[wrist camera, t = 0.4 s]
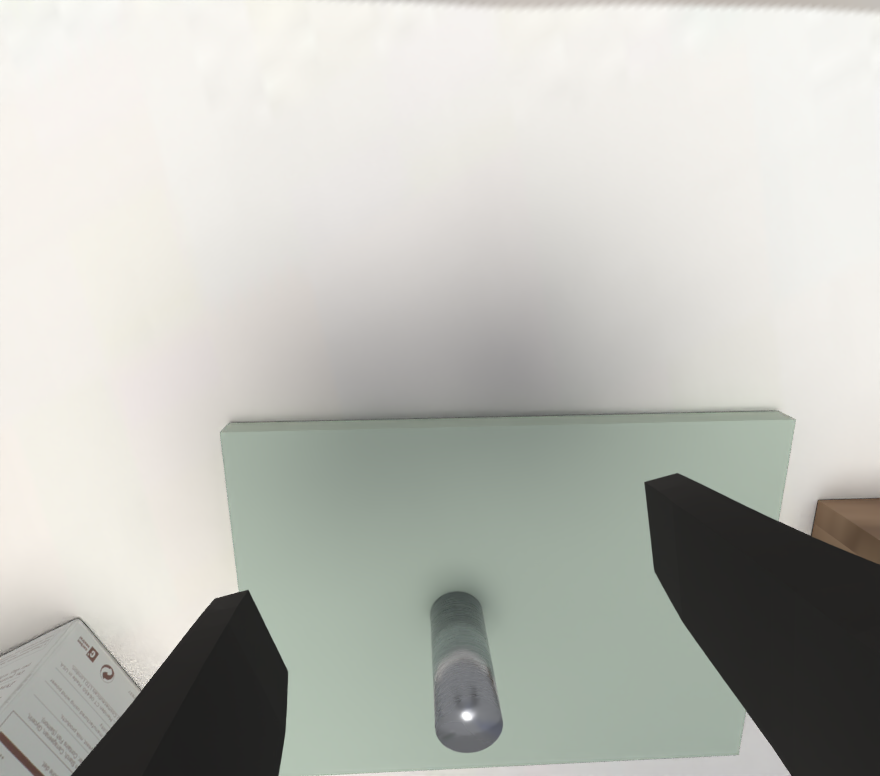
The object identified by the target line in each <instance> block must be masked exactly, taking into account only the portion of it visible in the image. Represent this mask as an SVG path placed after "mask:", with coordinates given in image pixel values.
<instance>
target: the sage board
mask: <svg viewBox="0 0 880 776" xmlns="http://www.w3.org/2000/svg"><path fill="white" fill-rule="evenodd" d="M795 422H796V419H794V418H792V417H790V416H788V415H786V414H784V413H781V412H779V411H748V412H703V413H657V414H611V415H566V416H520V417H474V418H429V419H383V420H337V421H292V422H246V423H229V424H228V425H227V426H226V427H225V428H224V429H223V430H222V431H221V432H220V438H221V446H222V455H223V463H224V471H225V480H226V488H227V497H228V505H229V513H230V522H231V530H232V538H233V547H234V555H235V564H236V572H237V580H238V589H239V592H241V591H245V590H249V592H250V594H251V596H252V598H253V600H254V602H255V604H256V606H257V608H258V610H259V612H260V614H261V616H262V618H263V621H264V623H265V625H266V627H267V629H268V631H269V633H270V635H271V637H272V639H273V641H274V643H275V645H276V647H277V649H278V651H279V653H280V655H281V658H282V660H283V662H284V664H285V666H286V668H287V670H288V696H287V717H286V733H285V739H284V746H283V752H282V758H281V765H280V771H279V776H319V775H340V774H360V773H381V772H401V771H422V770H442V769H463V768H483V767H504V766H524V765H545V764H565V763H586V762H606V761H626V760H647V759H667V758H688V757H708V756H729V755H739V749H740V744H741V738H742V732H743V726H744V720H745V714H746V710H745V709H744V707H743V706H742V704H741V703H740V702H739V700H738V699H737V697H736V696H735V695H734V693H733V692H732V691H731V689H730V688H729V686H728V685H727V684H726V682H725V681H724V680H723V678H722V677H721V675H720V674H719V673H718V671H717V670H716V669H715V667H714V666H713V664H712V663H711V662H710V660H709V659H708V657H707V656H706V655H705V653H704V652H703V650H702V649H701V648H700V646H699V645H698V643H697V642H696V641H695V639H694V638H693V636H692V635H691V634H690V632H689V631H688V629H687V628H686V626H685V625H684V624H683V622H682V620H681V619H680V617H679V615H678V613H677V612H676V610H675V608H674V606H673V605H672V603H671V601H670V599H669V597H668V596H667V594H666V592H665V590H664V588H663V586H662V585H661V583H660V581H659V579H658V577H657V575H656V574H655V572H654V565H653V556H652V547H651V538H650V529H649V520H648V511H647V502H646V493H645V484H644V482H646V481H649V480H653V479H657V478H660V477H664V476H668V475H671V474H675V473H679V474H681V475H683V476H686V477H688V478H690V479H692V480H694V481H696V482H698V483H700V484H702V485H704V486H706V487H708V488H711V489H713V490H715V491H717V492H719V493H721V494H723V495H725V496H727V497H729V498H731V499H733V500H735V501H737V502H739V503H741V504H743V505H745V506H747V507H749V508H751V509H753V510H756V511H758V512H760V513H762V514H764V515H766V516H768V517H770V518H772V519H775V520H777V521H779V516H780V510H781V504H782V498H783V492H784V486H785V480H786V475H787V469H788V463H789V457H790V451H791V445H792V439H793V434H794V428H795ZM454 591H461V592H466V593H469V594H471V595H473V596H474V597H475V598H476V599H477V600H478V601H479V602H480V604H481V606H482V610H483V616H484V621H485V627H486V632H487V638H488V643H489V648H490V654H491V659H492V665H493V670H494V676H495V681H496V686H497V692H498V697H499V703H500V708H501V713H502V719H503V729H502V732H501V734H500V736H499V738H498V739H497V740H496V741H495V742H494V743H493V744H492V745H491V746H489V747H488V748H486V749H484V750H481V751H478V752H474V753H460V752H456V751H453V750H451V749H449V748H447V747H445V746H444V745H443V744H442V743H441V742H440V741H439V739H438V737H437V735H436V732H435V716H434V693H433V671H432V648H431V626H430V611H431V607H432V605H433V603H434V602H435V601H436V600H437V599H438V598H439V597H440V596H442V595H444V594H446V593H449V592H454Z"/></svg>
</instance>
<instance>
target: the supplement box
mask: <svg viewBox="0 0 880 776" xmlns="http://www.w3.org/2000/svg"><path fill="white" fill-rule="evenodd" d="M140 692H141V690H140V689H139V688H138V687H137V685H136V684H135V683H134V682H133V681H132V679H131V678H130V677H129V676H128V675H127V673H126V672H125V671H124V670H123V669H122V668H121V666H120V665H119V664H118V662H117V661H116V660H115V659H114V658H113V657H112V655H111V654H110V653H109V652H108V651H107V650H106V648H105V647H104V646H103V645H102V644H101V643H100V641H99V640H98V639H97V638H96V637H95V636H94V634H93V633H92V632H91V631H90V630H89V629H88V627H87V626H86V625H85V624H84V623H83V622H82V621H81V620H79V619H75V620H73V621H71V622H69V623H67V624H65V625H63V626H61V627H59V628H57V629H55V630H53V631H50V632H48V633H46V634H44V635H42V636H40V637H38V638H36V639H34V640H33V641H31V642H29V643H27V644H25V645H23V646H21V647H19V648H17V649H15V650H13V651H11V652H9V653H7V654H5V655H3V656H1V657H0V776H71V775H72V773H73V772H74V771H75V770H76V769H77V768H78V766H79V765H80V764H81V763H82V762H83V760H84V759H85V758H86V757H87V756H88V755H89V753H90V752H91V751H92V750H93V749H94V747H95V746H96V745H97V744H98V743H99V742H100V740H101V739H102V738H103V737H104V736H105V734H106V733H107V732H108V731H109V730H110V729H111V727H112V726H113V725H114V724H115V723H116V721H117V720H118V719H119V718H120V717H121V716H122V714H123V713H124V712H125V711H126V709H127V708H128V707H129V706H130V705H131V703H132V702H133V701H134V699H135V698H136V697H137V696H138V694H139V693H140Z"/></svg>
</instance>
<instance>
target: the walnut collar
mask: <svg viewBox="0 0 880 776" xmlns="http://www.w3.org/2000/svg"><path fill="white" fill-rule="evenodd" d="M812 537H814V538H817V539H819V540H821V541H823V542H826V543H828V544H830V545H833V546H835V547H838V548H840V549H843V550H845V551H848V552H850V553H852V554H855V555H857V556H860V557H862V558H865V559H867V560H870V561H872V562H874V563H877V564H880V498H876V499H841V500H818V504H817V510H816V515H815V520H814V526H813V531H812Z"/></svg>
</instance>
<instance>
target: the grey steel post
mask: <svg viewBox="0 0 880 776" xmlns="http://www.w3.org/2000/svg"><path fill="white" fill-rule="evenodd" d="M430 626H431V648H432V671H433V693H434V716H435V732H436V735H437V737H438V739H439V741H440V742H441V743H442V744H443V745H444V746H445V747H447V748H449V749H451V750H453V751H456V752H460V753H474V752H478V751H481V750H484V749H486V748H488V747H489V746H491V745H492V744H493V743H494V742H495V741H496V740H497V739H498V738H499V736H500V734H501V732H502V729H503V719H502V713H501V708H500V703H499V697H498V692H497V686H496V681H495V676H494V670H493V665H492V659H491V654H490V648H489V643H488V638H487V632H486V627H485V621H484V616H483V610H482V606H481V604H480V602H479V601H478V600H477V599H476V598H475V597H474V596H473V595H471V594H469V593H466V592H461V591H454V592H449V593H446V594H444V595H442V596H440V597H439V598H438V599H437V600H436V601H435V602H434V603H433V605H432V607H431V611H430Z"/></svg>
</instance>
